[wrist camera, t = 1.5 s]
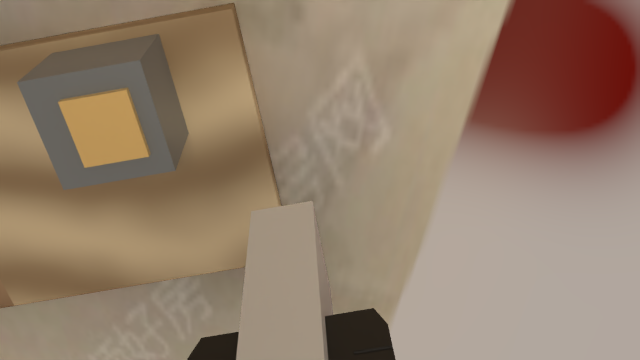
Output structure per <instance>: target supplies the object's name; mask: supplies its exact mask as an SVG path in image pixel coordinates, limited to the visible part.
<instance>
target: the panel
mask: <svg viewBox="0 0 640 360" xmlns="http://www.w3.org/2000/svg"><path fill="white" fill-rule="evenodd" d="M154 34H159V36H160V39H161V42H162V46H163V49H164V52H165V56H166V59H167V62H168V66H169V69H170V72H171V76H172V79H173V82H174V86H175V89H176V92H177V96H178V99H179V102H180V106H181V109H182V112H183V116H184V119H185V122H186V126H187V129H188V132H189V134H188V137H187V140H186V143H185V145H184V148H183V151H182V154H181V157H180V160H179V162H178V165H177V168H176V171H171V172H166V173H160V174H154V175H148V176H143V177H137V178H131V179H125V180H120V181H114V182H108V183H102V184H97V185H91V186H85V187H79V188H74V189H68V190H63V188H62V185H61V183H60V181H59V178H58V176H57V174H56V171H55V169H54V167H53V165H52V162H51V160H50V158H49V155H48V153H47V151H46V148H45V146H44V144H43V142H42V139H41V137H40V135H39V132H38V130H37V128H36V125H35V123H34V121H33V119H32V116H31V114H30V112H29V109H28V107H27V105H26V102H25V100H24V98H23V96H22V93H21V91H20V89H19V86H18V84H17V82H18V81H19V80H20V79H21V78H23V77H24V76H25V75H26V74H27V73H29V72H30V71H31V70H32V69H33V68H35V67H36V66H37V65H38V64H39V63H41V62H42V61H43V60H44V59H45V58H47V57H48V56H49V55H50V54H51V53H55V52H61V51H66V50H72V49H77V48H83V47H88V46H94V45H99V44H105V43H110V42H116V41H121V40H127V39H132V38H138V37H143V36H149V35H154ZM279 206H281V202H280V197H279V193H278V189H277V184H276V180H275V176H274V172H273V167H272V163H271V159H270V154H269V150H268V146H267V142H266V137H265V133H264V129H263V124H262V120H261V116H260V112H259V107H258V103H257V99H256V94H255V90H254V86H253V82H252V77H251V73H250V69H249V64H248V60H247V56H246V52H245V47H244V43H243V39H242V34H241V30H240V26H239V22H238V17H237V13H236V9H235V5H234V3H231V4H225V5H220V6H214V7H209V8H204V9H198V10H193V11H187V12H182V13H176V14H171V15H165V16H160V17H155V18H149V19H144V20H138V21H133V22H127V23H122V24H116V25H111V26H105V27H100V28H95V29H89V30H84V31H78V32H73V33H67V34H62V35H56V36H51V37H46V38H40V39H35V40H29V41H24V42H18V43H13V44H7V45H2V46H0V308H4V307H10V306H16V305H22V304H28V303H34V302H40V301H46V300H52V299H58V298H64V297H70V296H76V295H82V294H88V293H94V292H100V291H106V290H112V289H118V288H124V287H130V286H135V285H141V284H147V283H153V282H159V281H165V280H171V279H177V278H183V277H189V276H195V275H201V274H207V273H213V272H219V271H225V270H231V269H237V268H243V267H246V257H247V247H248V237H249V228H250V218H251V211H255V210H261V209H267V208H273V207H279Z"/></svg>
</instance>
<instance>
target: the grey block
mask: <svg viewBox="0 0 640 360" xmlns="http://www.w3.org/2000/svg"><path fill="white" fill-rule="evenodd" d="M17 84H18V86H19V89H20V91H21V93H22V96H23V98H24V100H25V102H26V105H27V107H28V109H29V112H30V114H31V116H32V119H33V121H34V123H35V125H36V128H37V130H38V132H39V135H40V137H41V139H42V142H43V144H44V146H45V148H46V151H47V153H48V155H49V158H50V160H51V162H52V165H53V167H54V169H55V171H56V174H57V176H58V178H59V181H60V183H61V185H62V188H63V190H68V189H74V188H79V187H85V186H91V185H97V184H102V183H108V182H114V181H120V180H125V179H131V178H137V177H143V176H148V175H154V174H160V173H166V172H171V171H176V168H177V165H178V162H179V160H180V157H181V154H182V151H183V148H184V145H185V143H186V140H187V137H188V134H189V132H188V129H187V126H186V122H185V119H184V116H183V112H182V109H181V106H180V102H179V99H178V96H177V92H176V89H175V86H174V82H173V79H172V76H171V72H170V69H169V66H168V62H167V59H166V56H165V52H164V49H163V46H162V42H161V39H160V36H159V34H154V35H149V36H143V37H138V38H132V39H127V40H121V41H116V42H110V43H105V44H99V45H94V46H88V47H83V48H77V49H72V50H66V51H61V52H55V53H51V54H50V55H49V56H48V57H47V58H45V59H44V60H43V61H42V62H41V63H39V64H38V65H37V66H36V67H35V68H33V69H32V70H31V71H30V72H29V73H27V74H26V75H25V76H24V77H23V78H21V79H20V80H19V81H18V82H17Z"/></svg>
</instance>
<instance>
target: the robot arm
mask: <svg viewBox="0 0 640 360" xmlns="http://www.w3.org/2000/svg"><path fill="white" fill-rule="evenodd" d="M188 360H395V356H394V351H393V347H392V342H391V337H390V333H389V328H388V324H387V323H386V322H385V321H384V320H383V318H382V317H381V316H380V315H379V314H378V313H377V312H376V310H375V309H374V308H372V309H366V310H360V311H354V312H348V313H342V314H335V315H333V309H332V299H331V289H330V284H329V279H328V274H327V269H326V264H325V260H324V255H323V250H322V245H321V240H320V235H319V230H318V225H317V220H316V215H315V210H314V205H313V201H308V202H302V203H296V204H291V205H285V206H279V207H273V208H267V209H261V210H255V211H251V218H250V228H249V237H248V247H247V257H246V267H245V277H244V286H243V296H242V306H241V316H240V326H239V332H235V333H229V334H223V335H217V336H210V337H204V338H201V339H200V341H199V342H198V344H197V345H196V347H195V348H194V350H193V351H192V353H191V354H190V356H189V357H188Z"/></svg>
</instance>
